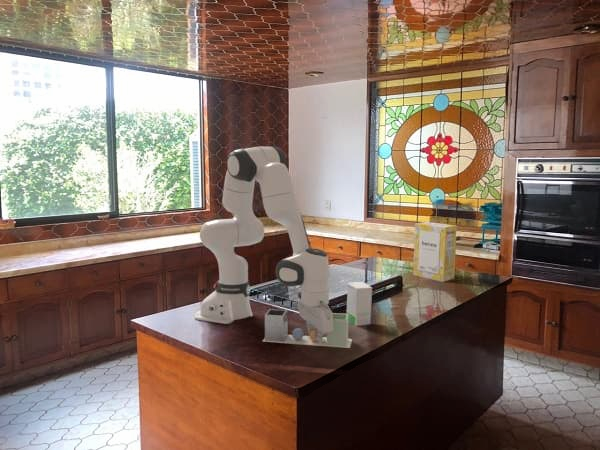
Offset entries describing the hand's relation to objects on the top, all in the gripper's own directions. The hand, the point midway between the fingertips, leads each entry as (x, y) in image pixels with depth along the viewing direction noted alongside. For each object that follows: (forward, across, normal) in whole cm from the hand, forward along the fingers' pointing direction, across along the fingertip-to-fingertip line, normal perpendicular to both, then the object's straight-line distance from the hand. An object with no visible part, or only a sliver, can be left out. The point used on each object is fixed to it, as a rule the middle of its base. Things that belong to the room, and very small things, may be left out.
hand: (315, 337), depth 160 cm
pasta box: (+3, +59, -97) cm, 113 cm away
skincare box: (+3, +11, -23) cm, 26 cm away
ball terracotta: (+1, 0, 0) cm, 1 cm away
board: (+2, +2, +2) cm, 4 cm away
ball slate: (+1, +3, +5) cm, 6 cm away
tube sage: (+1, -4, -6) cm, 8 cm away
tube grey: (+1, +8, +11) cm, 14 cm away
